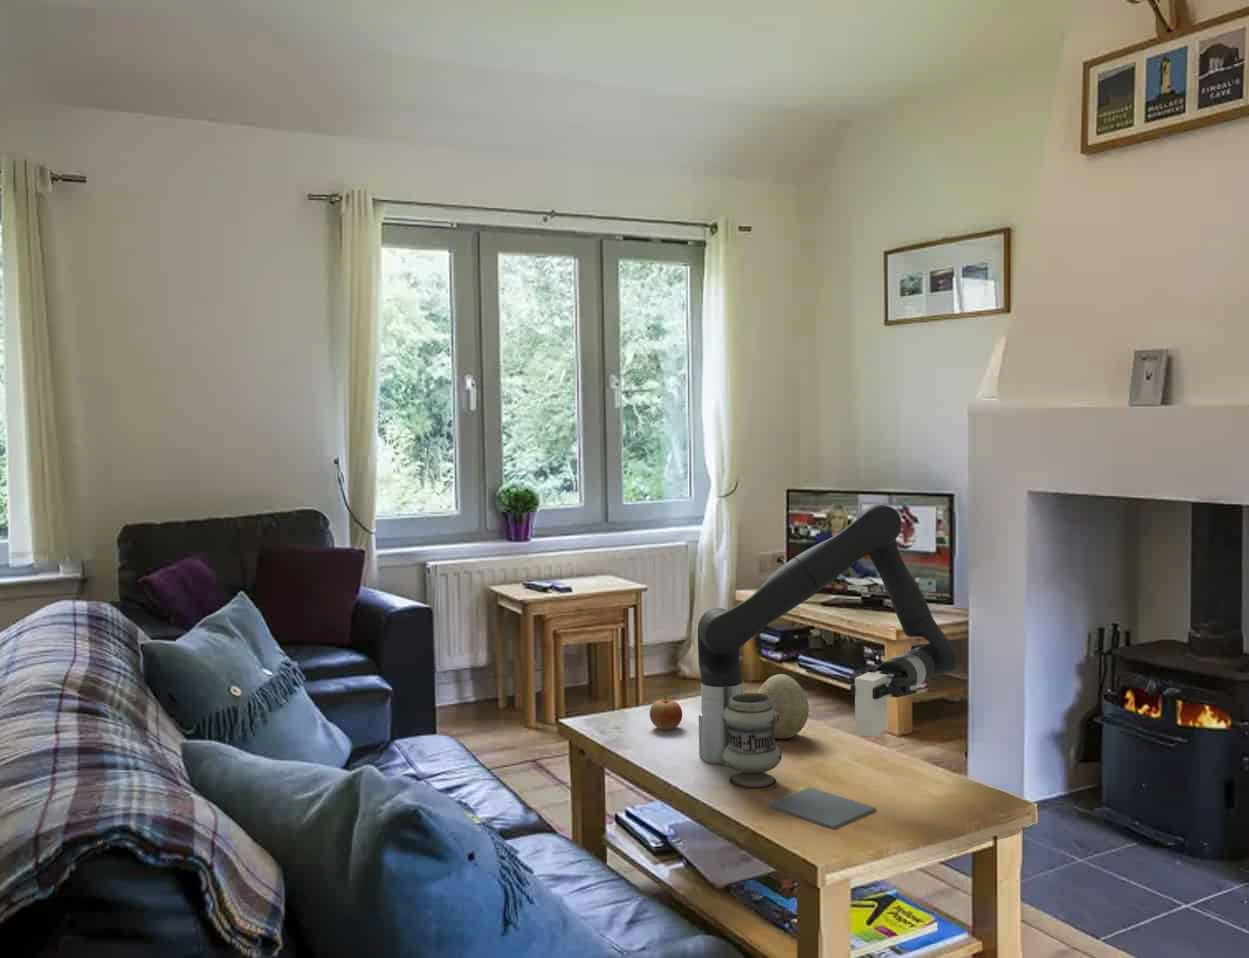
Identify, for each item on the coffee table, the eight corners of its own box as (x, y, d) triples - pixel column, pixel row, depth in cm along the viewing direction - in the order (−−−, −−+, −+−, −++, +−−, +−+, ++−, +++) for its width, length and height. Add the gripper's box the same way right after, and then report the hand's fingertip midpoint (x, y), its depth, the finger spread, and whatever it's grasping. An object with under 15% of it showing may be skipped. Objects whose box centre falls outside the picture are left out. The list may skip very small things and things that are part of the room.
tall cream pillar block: (855, 733, 207) (854, 678, 206) (869, 726, 212) (868, 672, 211) (874, 736, 205) (873, 680, 204) (887, 729, 209) (887, 674, 209)
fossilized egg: (743, 736, 250) (742, 673, 250) (783, 726, 257) (782, 665, 257) (779, 749, 240) (778, 684, 239) (820, 738, 247) (819, 675, 246)
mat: (767, 806, 205) (767, 803, 205) (809, 789, 213) (809, 787, 213) (833, 828, 193) (833, 826, 193) (875, 810, 201) (875, 807, 201)
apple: (647, 724, 262) (647, 693, 261) (679, 723, 263) (678, 691, 262) (652, 734, 254) (651, 701, 253) (684, 732, 255) (684, 699, 254)
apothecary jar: (713, 778, 221) (711, 694, 220) (762, 769, 226) (761, 686, 225) (741, 796, 210) (739, 707, 209) (793, 787, 215) (791, 700, 214)
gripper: (869, 652, 223) (830, 668, 209) (933, 661, 214) (897, 678, 200) (869, 687, 223) (830, 705, 210) (934, 697, 214) (898, 717, 201)
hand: (863, 692), depth 205 cm, fingers closed on tall cream pillar block, 4 cm apart
